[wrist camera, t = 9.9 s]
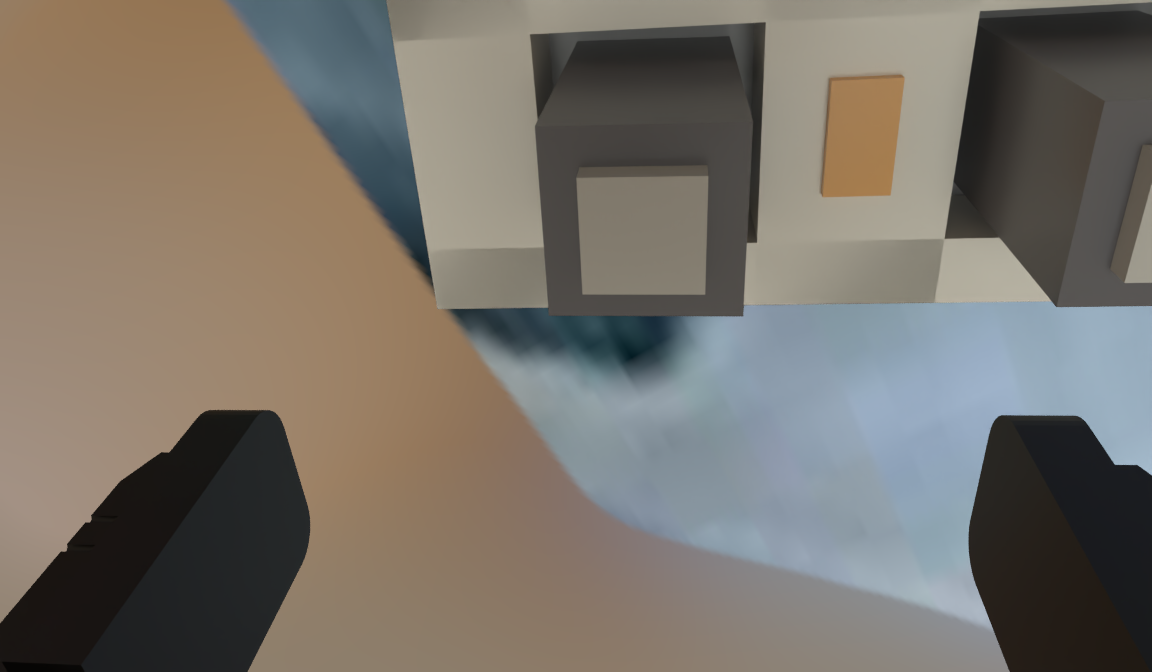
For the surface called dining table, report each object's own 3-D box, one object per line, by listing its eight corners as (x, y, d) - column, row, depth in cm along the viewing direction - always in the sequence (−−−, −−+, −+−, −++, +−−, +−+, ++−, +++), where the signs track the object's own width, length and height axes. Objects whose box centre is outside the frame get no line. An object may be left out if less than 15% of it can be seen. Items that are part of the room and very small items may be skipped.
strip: (467, 250, 27) (434, 314, 24) (424, -59, 23) (375, -39, 19) (1213, 234, 25) (1307, 303, 21) (1326, -118, 20) (1471, -109, 17)
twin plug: (968, 18, 22) (1119, 110, 14) (1138, 10, 21) (1387, 100, 14) (945, 171, 24) (1068, 321, 16) (1099, 166, 23) (1300, 319, 16)
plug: (577, 41, 23) (530, 136, 15) (729, 36, 22) (756, 131, 15) (584, 184, 25) (545, 329, 17) (723, 182, 24) (745, 330, 17)
